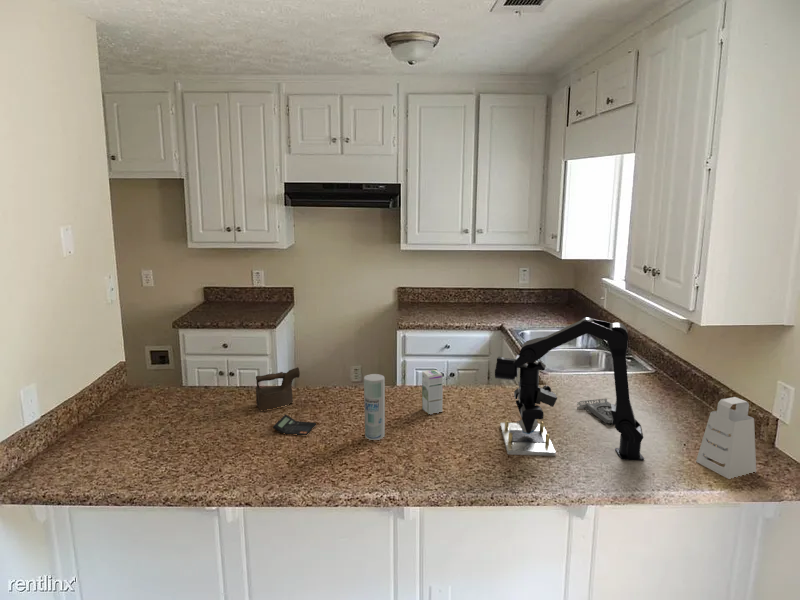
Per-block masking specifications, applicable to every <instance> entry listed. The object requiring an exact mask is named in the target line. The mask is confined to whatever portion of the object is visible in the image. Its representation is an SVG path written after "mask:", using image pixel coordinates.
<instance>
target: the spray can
mask: <svg viewBox="0 0 800 600" xmlns="http://www.w3.org/2000/svg"><path fill="white" fill-rule="evenodd" d="M385 380H386V379H385V376H384V375H382V374H378V373H371V374H367V375H366V374H365V375H364V376H363V395H364V396H363V401H364V402H363V403H364V437H365V439H366V438H367V439H369V440H368V441H370V440H379V441H381V440H380V439H382V438H383V437H384V438H385V423H386V421H385V419H386V417H385V411H386V410H385V401H386V400H385V398H386V397H385V392H386V390H385V388H386V387H385V386H386V385H385V383H386V381H385ZM384 438H383V439H384ZM367 439H366V440H367ZM383 439H382V440H383Z"/></svg>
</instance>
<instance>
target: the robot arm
mask: <svg viewBox="0 0 800 600" xmlns="http://www.w3.org/2000/svg"><path fill="white" fill-rule="evenodd" d="M586 334H588V335H591V336H593V337H595V338H598V339H600V340H602V341H606V342H607V344H608V348H609V352H610V354H611V357H612V367H613V375H614V378H613V379H614V387H615V388H614V389H615V397H616V398H615V404H613V403H611V413H612V423H611V424H612V426H614V428H615V431H617V432H619V433H620V438H619V447H615V448H614V450H615V452H616V453H617V455H618V456H619V458H620V459H621V460H624V461H645V458H644V456H643V455H642V454H641V450H642V449H641V448H642V446H641V445H642V441H643V439H644V434H643V428H642V425H641V423H640V422H638V420H636V417H635V414H634V410H633V406H632V403H631V400H630V391H629V389H630V388H629V378H628V377H629V376H628V368H627V366H628V365H627V351H628V345H629V334H628V330H627V327H626V325H624V324H623V323H622V322H621V323H620V322H608V321H605V320H599V319H595V318H591V317H587V316H586V317H582V319H581V320H578V321H576V322H574V323H572V324H570V325H568V326H566V327H563V328H562V329H559V330H557V331H555V332H553V333H551V334H549V335H546V336H544V337H542V336H541V337H536V338H532V339H529V340H526V341H525V342H523V344H522V346H521V348H520V351H519V353H518V354H517V355H515V356H516V357H514V358H511V357H509V358H508V357H503V356H498V357H497V358H496V364H495V369H494V378H495V379H497V380H498V379H499V380H506V381H507V380H508V381H514V380H515V379H516V378H518V376H519V381H518V388H516V389H515V390H514V392H513V397H514V400H515V404H516V406H517V409H518V412H519V414H520V418H521V419H522V421H523V423H524V426H525V429H526V432H527V433H530V432H531V429H532V427H533V424H534V421H535V419H537V420H543V419H544V415H545V414H544V411H543V409H542V407H541V406H540V404H541V403H543V404H544V405H548V406H549V407H552V408H553V407H555V404H556V402H557V400H558V395H556V393H554V391H552V388H551V386H550V385H546V384H545V385H544V386H543V387H540V385H539V382H540V381H539V380H540V378H539V377H540V371H545V370H546V367H547V366H546V364H545V363H544V362H543V361H542V360H541V359H542V358H543V357H544V356H545V355H547V354H548V353H549V352H551V350H553V349H555V348H558V347H560V346H562V345H565V344H567V343H568V342H571V341H573V340H575V339H577V338H579V337H581V336H584V335H586ZM538 360H539V361H538ZM537 361H538V362H537Z"/></svg>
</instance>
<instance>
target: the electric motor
mask: <svg viewBox="0 0 800 600" xmlns="http://www.w3.org/2000/svg"><path fill="white" fill-rule="evenodd" d="M516 423H517V424H519V425H520V427H521V428H522V430H523V433H526V434H530V433H532V432H534V430H535V429H536V428H537V426H538V424H539V422H538V419H535V421H534V424H533V427H532V429H531V432H530V433H527V432H526V429H525V426H524V423H523V421H522V418H521V419H520V420H517V421H516Z"/></svg>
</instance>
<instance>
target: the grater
mask: <svg viewBox="0 0 800 600" xmlns="http://www.w3.org/2000/svg"><path fill="white" fill-rule="evenodd" d="M733 405H735V409H732V406H733ZM749 410H750V404H749V402H748V401H746V400H744V399H741V398H739V397H737V396H733V397H727V398H721V399H720V400H719V401H718V403H717V408H716V410H714V411H710V414H709V416H708V420H707V423H706V427H705V430H704V434H703V436H702V439H701V443H700V446H699V450H698V454H697V456H696V460H695V462H696V463H698V464H700V465H701V466H703V467H705V468H707V469H709V470H711V471H713V472H715V473H717V474H718V475H720V476H722V477H724V478H726V479H728V480H731V478H732V479H735V478H734V477H736V478H739V477H738V476H740V477H743V476H742V475H744V476H747V475H746V474H748V475H750V474H749V473H752V474H754V473H753V472H755V473H757V461H756V460H757V459H756V457H757V456H756V435H755V431H756V430H755V418H754V417H752V416H750V415H749ZM709 459H711V460H713V461H715V462H717V463H719V464H717V463H715V462H713V461H711V460H709ZM720 464H721V465H724V466H721V465H720Z"/></svg>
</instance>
